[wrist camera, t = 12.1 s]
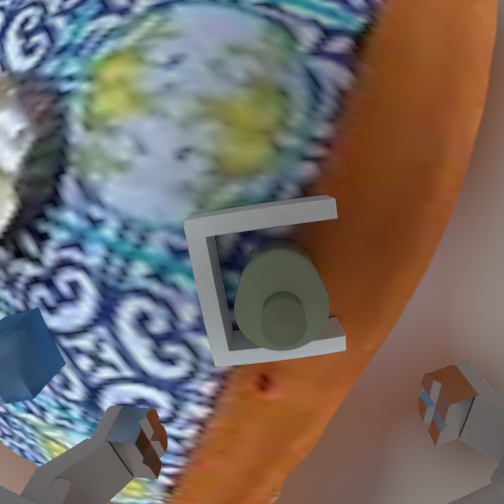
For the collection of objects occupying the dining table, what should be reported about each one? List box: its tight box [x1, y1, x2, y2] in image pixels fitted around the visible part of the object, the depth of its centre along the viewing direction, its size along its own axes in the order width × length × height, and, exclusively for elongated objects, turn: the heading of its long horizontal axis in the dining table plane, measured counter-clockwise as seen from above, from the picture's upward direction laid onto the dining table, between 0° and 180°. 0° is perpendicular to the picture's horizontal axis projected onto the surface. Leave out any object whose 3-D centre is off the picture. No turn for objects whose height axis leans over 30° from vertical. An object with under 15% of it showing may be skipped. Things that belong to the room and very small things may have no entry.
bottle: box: [234, 239, 330, 351], centre depth 19 cm, size 5×5×8 cm
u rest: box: [183, 195, 346, 367], centre depth 21 cm, size 10×9×3 cm
